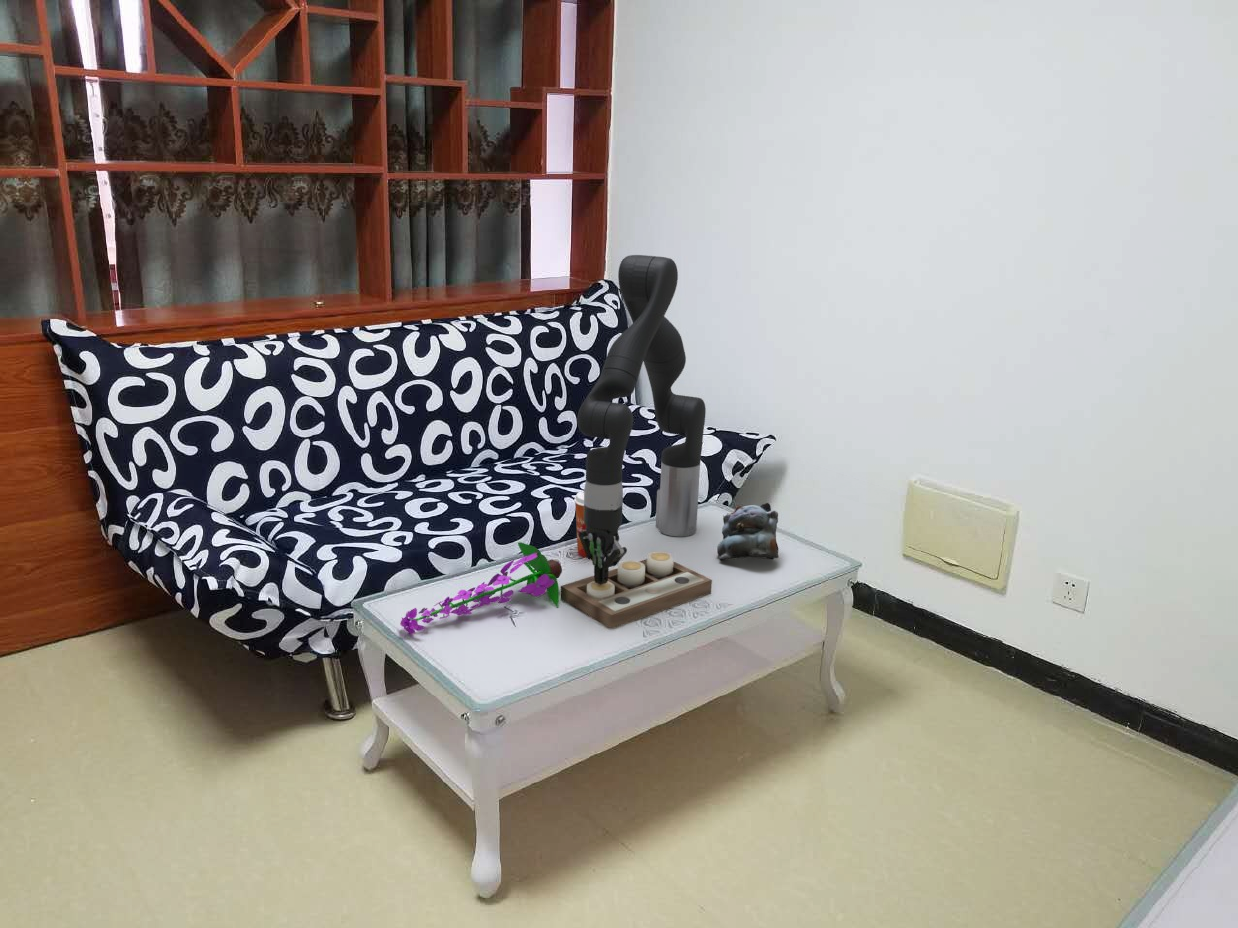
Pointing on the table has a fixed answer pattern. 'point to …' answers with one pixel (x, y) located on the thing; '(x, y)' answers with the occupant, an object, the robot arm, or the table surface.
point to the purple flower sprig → (536, 585)
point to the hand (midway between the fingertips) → (601, 582)
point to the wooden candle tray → (637, 595)
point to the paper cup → (580, 521)
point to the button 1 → (600, 590)
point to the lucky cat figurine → (749, 533)
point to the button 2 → (660, 563)
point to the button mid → (631, 572)
